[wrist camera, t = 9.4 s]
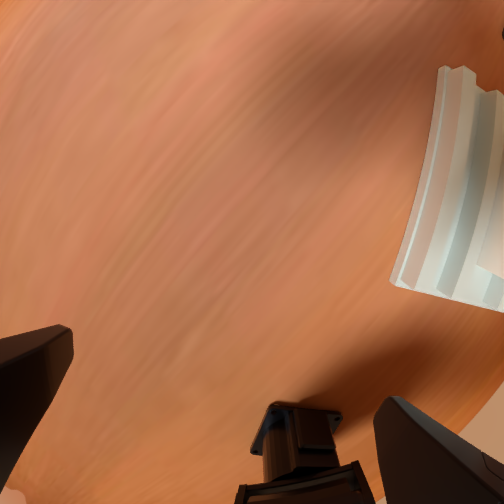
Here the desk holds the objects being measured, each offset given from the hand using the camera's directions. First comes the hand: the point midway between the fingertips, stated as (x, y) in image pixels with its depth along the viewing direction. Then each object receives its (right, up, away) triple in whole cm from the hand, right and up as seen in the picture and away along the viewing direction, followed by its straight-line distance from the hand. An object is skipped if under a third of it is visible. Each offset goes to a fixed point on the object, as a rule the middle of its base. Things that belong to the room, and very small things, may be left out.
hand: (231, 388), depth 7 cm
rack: (+19, +7, +11) cm, 23 cm away
